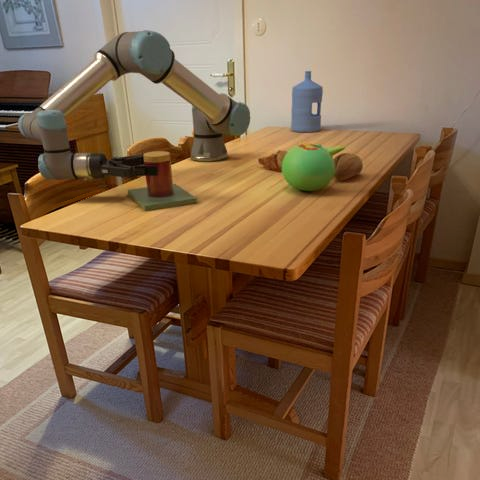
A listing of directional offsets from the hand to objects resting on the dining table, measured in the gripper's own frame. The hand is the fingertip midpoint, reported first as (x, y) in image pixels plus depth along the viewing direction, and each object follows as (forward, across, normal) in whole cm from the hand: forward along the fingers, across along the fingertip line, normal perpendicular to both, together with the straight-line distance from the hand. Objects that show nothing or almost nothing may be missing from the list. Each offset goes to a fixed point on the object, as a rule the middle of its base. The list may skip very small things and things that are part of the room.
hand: (161, 165), depth 146 cm
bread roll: (+59, -23, -10) cm, 64 cm away
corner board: (-1, 0, -10) cm, 10 cm away
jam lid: (-1, 0, +3) cm, 3 cm away
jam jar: (-1, 0, -9) cm, 9 cm away
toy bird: (+45, -9, -10) cm, 47 cm away
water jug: (+53, -126, -10) cm, 137 cm away
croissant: (+38, -37, -10) cm, 54 cm away
